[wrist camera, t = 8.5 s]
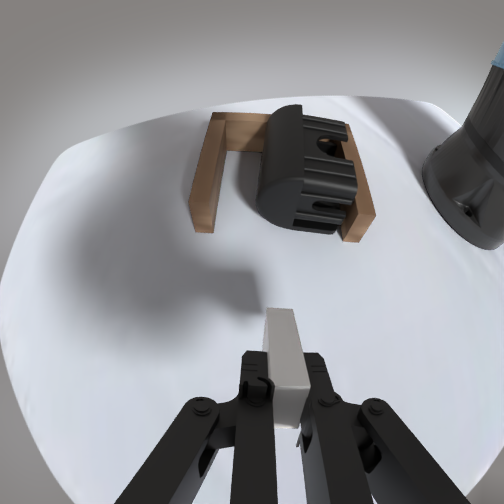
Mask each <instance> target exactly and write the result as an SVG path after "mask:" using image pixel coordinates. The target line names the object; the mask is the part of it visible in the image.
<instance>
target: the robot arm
mask: <svg viewBox="0 0 504 504" xmlns="http://www.w3.org/2000/svg"><path fill="white" fill-rule="evenodd" d="M491 64H492V68H491V70H490V72H489V75H488V77H487V79H486V81H485V83H484V86H483V88H482V90H481V92H480V94H479V96H478V98H477V100H476V101H475V103H474V105H473V107H472V109H471V111H470V113H469V114H468V116H467V118H466V120H465V122H464V124H463V125H462V127H461V128H460V129H458V130H457V131H456V132H455V133H453V134H452V135H451V136H450V137H449V138H448V139H446V140H445V141H444V142H443V144H442V145H439V146H437V147H436V148H434V149H433V150H432V151H431V153H430V154H429V156H428V158H427V160H426V161H425V163H424V165H423V170H422V174H423V180H424V184H425V187H426V189H427V192H428V194H429V196H430V198H431V199H432V201H433V203H434V205H435V206H436V208H437V209H438V211H439V212H440V213H441V215H442V216H443V217H444V219H445V220H446V221H447V222H448V223H449V224H450V225H451V227H452V228H453V229H454V230H455V231H456V232H457V233H459V234H460V235H461V236H462V237H463V238H464V239H466V240H467V241H468V242H470V243H472V244H473V245H475V246H477V247H479V248H482V249H485V250H494V249H496V248H498V247H499V246H500V245H501V244H503V243H504V42H503V43H502V45H501V47H500V50H499V52H498V54H497V56H496V58H495V60H493V61H492V63H491ZM262 351H263V352H262ZM262 351H246V352H245V353H244V355H243V356H242V364H241V375H240V384H239V393H238V395H237V396H236V398H234V399H233V400H231V401H229V402H225V403H218V404H217V403H216V402H215V401H214V400H212V399H210V398H207V397H195V398H193V399H190V400H189V401H188V402H187V403H185V405H184V406H183V408H182V409H181V411H180V412H179V414H178V415H177V417H176V418H175V419H174V421H173V422H172V424H171V425H170V427H169V428H168V430H167V431H166V432H165V434H164V435H163V437H162V438H161V440H160V441H159V442H158V444H157V445H156V447H155V448H154V450H153V451H152V452H151V454H150V455H149V457H148V458H147V459H146V461H145V462H144V464H143V465H142V466H141V468H140V469H139V471H138V472H137V473H136V475H135V476H134V477H133V479H132V480H131V481H130V483H129V484H128V486H127V487H126V488H125V490H124V491H123V492H122V494H121V495H120V496H119V498H118V499H117V500H116V502H115V503H114V504H192V502H193V500H194V498H195V496H196V494H197V493H198V491H199V489H200V487H201V485H202V483H203V481H204V479H205V477H206V475H207V473H208V471H209V469H210V467H211V465H212V463H213V461H214V459H215V457H216V455H217V453H218V450H219V449H221V448H227V447H233V446H234V459H233V471H232V484H231V496H230V504H278V497H277V475H276V454H275V435H274V428H279V429H295V428H298V427H299V424H300V423H301V432H300V435H299V438H298V441H297V444H296V447H299V444H300V447H301V455H302V464H303V472H304V481H305V489H306V498H307V504H374V503H373V499H372V496H373V497H374V499H375V500H376V502H377V504H471V503H470V502H469V501H468V500H467V499H466V497H465V496H464V495H463V494H462V492H461V491H460V490H459V489H458V488H457V486H456V485H455V484H454V483H453V481H452V480H451V479H450V478H449V477H448V475H447V474H446V473H445V472H444V470H443V469H442V468H441V467H440V466H439V464H438V463H437V462H436V461H435V460H434V458H433V457H432V456H431V455H430V454H429V452H428V451H427V450H426V449H425V448H424V446H423V445H422V444H421V443H420V441H419V440H418V439H417V438H416V437H415V435H414V434H413V433H412V432H411V431H410V429H409V428H408V427H407V426H406V425H405V423H404V422H403V421H402V420H401V419H400V417H399V416H398V415H397V414H396V413H395V412H394V410H393V409H392V408H391V407H390V406H389V404H388V403H386V402H385V401H384V400H381V399H378V398H370V399H367V400H365V401H364V402H363V403H362V405H357V404H351V403H347V402H344V401H343V400H342V398H341V396H340V395H338V394H337V393H335V392H334V390H333V387H332V383H331V380H330V377H329V374H328V371H327V368H326V365H325V362H324V359H323V358H322V357H321V356H320V355H319V354H318V353H303V350H302V346H301V342H300V338H299V334H298V329H297V325H296V321H295V317H294V313H293V309H282V308H267V310H266V319H265V328H264V337H263V345H262ZM371 494H372V495H371Z"/></svg>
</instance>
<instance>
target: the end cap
mask: <svg viewBox="0 0 504 504" xmlns="http://www.w3.org/2000/svg"><path fill="white" fill-rule="evenodd" d="M322 139H332V140H337V141H343V142H347V141H348V134H347V130H346V126H345V122H342V121H337V120H332V119H326V118H321V117H315V116H309V115H303V113H302V105H297V104H295V105H288V106H284V107H282V108H280V109H278V110H276V111H275V112H274V113H273V114H272V115H271V116H270V117H269V119H268V121H267V124H266V130H265V137H264V144H263V151H262V159H261V166H260V173H259V180H258V188H257V195H256V206H257V209H258V211H259V213H260V214H261V215H262V217H264V218H265V219H266V220H267V221H269V222H270V223H272V224H274V225H276V226H279V227H282V228H286V229H291V230H297V231H305V232H313V233H321V234H333V233H335V231H336V229H337V224H338V225H341V224H342V222H343V220H344V218H345V217H346V211H341V210H340V205H339V203H341V204H347V205H352V202H353V200H354V198H355V196H356V194H357V190H358V183H357V177H356V172H355V167H354V162H353V161H352V160H347V159H342V158H336V157H334V153H335V150H336V147H337V144H336V143H330V142H325V141H319V140H322Z"/></svg>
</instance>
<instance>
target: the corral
mask: <svg viewBox="0 0 504 504" xmlns="http://www.w3.org/2000/svg"><path fill="white" fill-rule="evenodd" d="M271 115H272V114H257V113H232V112H213V113H212V116H211V119H210V123H209V126H208V129H207V133H206V136H205V140H204V143H203V147H202V150H201V154H200V158H199V162H198V165H197V169H196V173H195V177H194V181H193V185H192V189H191V193H190V197H189V201H188V203H189V207H190V211H191V215H192V219H193V223H194V227H195V231H196V232H202V233H213V232H214V226H215V219H216V212H217V206H218V199H219V193H220V187H221V181H222V175H223V169H224V163H225V158H226V152H227V150H228V151H251V152H262V151H263V144H264V137H265V130H266V124H267V121H268V119H269V117H270V116H271ZM345 126H346V130H347V134H348V141H347V142H343V141H337V140H332V139H322V140H319V141H325V142H330V143H336V144H337V147H336V150H335V153H334V157H336V158H342V159H347V160H352V161H353V162H354V167H355V172H356V177H357V183H358V190H357V194H356V196H355V198H354V200H353V202H352V205H347V204H341V203H339V205H340V210H341V211H346V217H345V218H344V220H343V222H342V224H341V231H342V238H343V241H345V242H358V243H359V241H360V240H361V238H362V237H363V235H364V234H365V232H366V231H367V229H368V228H369V226H370V224H371V223H372V221H373V220H374V218H375V217H376V214H375V209H374V205H373V201H372V198H371V194H370V190H369V186H368V183H367V179H366V176H365V172H364V169H363V166H362V162H361V159H360V156H359V153H358V150H357V147H356V144H355V141H354V138H353V135H352V132H351V129H350V127H349V124H345Z"/></svg>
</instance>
